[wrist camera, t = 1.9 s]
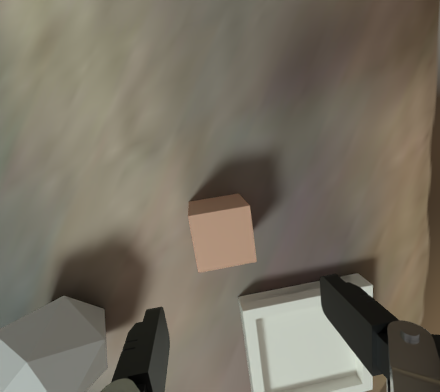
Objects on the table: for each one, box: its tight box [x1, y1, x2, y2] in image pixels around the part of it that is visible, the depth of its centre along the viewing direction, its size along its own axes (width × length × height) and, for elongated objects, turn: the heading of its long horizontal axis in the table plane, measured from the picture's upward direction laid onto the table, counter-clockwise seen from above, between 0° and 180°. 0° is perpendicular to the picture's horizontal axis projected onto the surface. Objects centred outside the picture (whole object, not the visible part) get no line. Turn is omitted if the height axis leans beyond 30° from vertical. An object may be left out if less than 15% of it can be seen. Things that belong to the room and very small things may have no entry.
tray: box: [238, 273, 373, 392], centre depth 28 cm, size 14×14×2 cm
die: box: [0, 296, 108, 392], centre depth 21 cm, size 8×9×10 cm
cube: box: [188, 193, 257, 273], centre depth 22 cm, size 5×5×5 cm
